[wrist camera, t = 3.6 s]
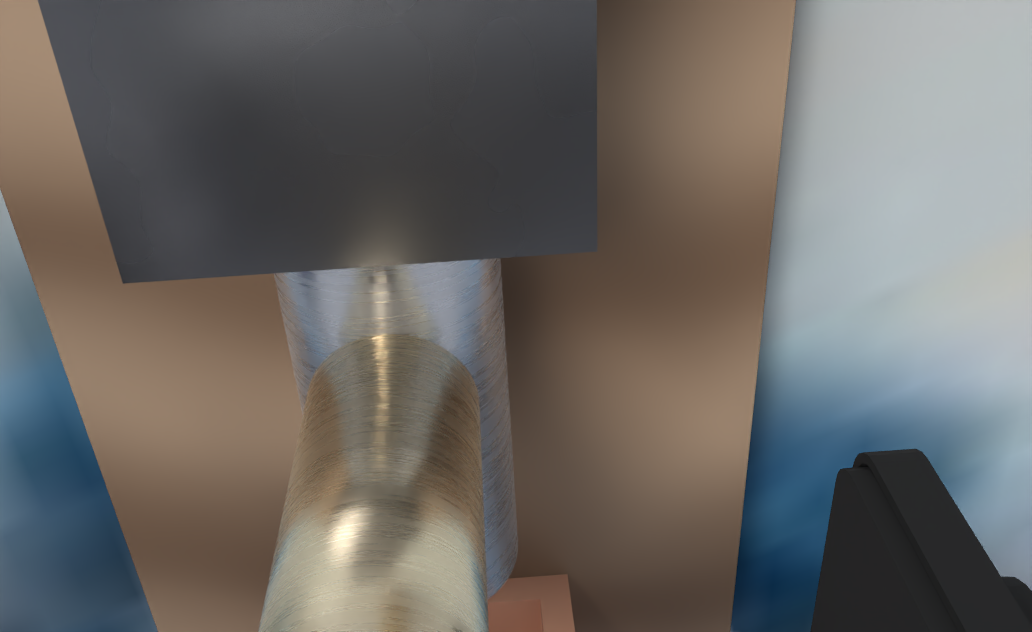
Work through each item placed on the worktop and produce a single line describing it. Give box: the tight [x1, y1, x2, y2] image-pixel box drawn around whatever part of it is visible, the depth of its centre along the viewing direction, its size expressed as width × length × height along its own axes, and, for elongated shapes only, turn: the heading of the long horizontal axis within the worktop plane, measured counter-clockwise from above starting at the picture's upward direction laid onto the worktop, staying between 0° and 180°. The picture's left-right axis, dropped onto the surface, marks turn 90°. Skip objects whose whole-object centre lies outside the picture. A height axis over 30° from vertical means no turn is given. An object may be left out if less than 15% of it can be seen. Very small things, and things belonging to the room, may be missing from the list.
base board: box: [0, 0, 796, 632], centre depth 17 cm, size 23×12×2 cm, turn 3°
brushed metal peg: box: [258, 258, 518, 632], centre depth 9 cm, size 15×3×10 cm, turn 3°
